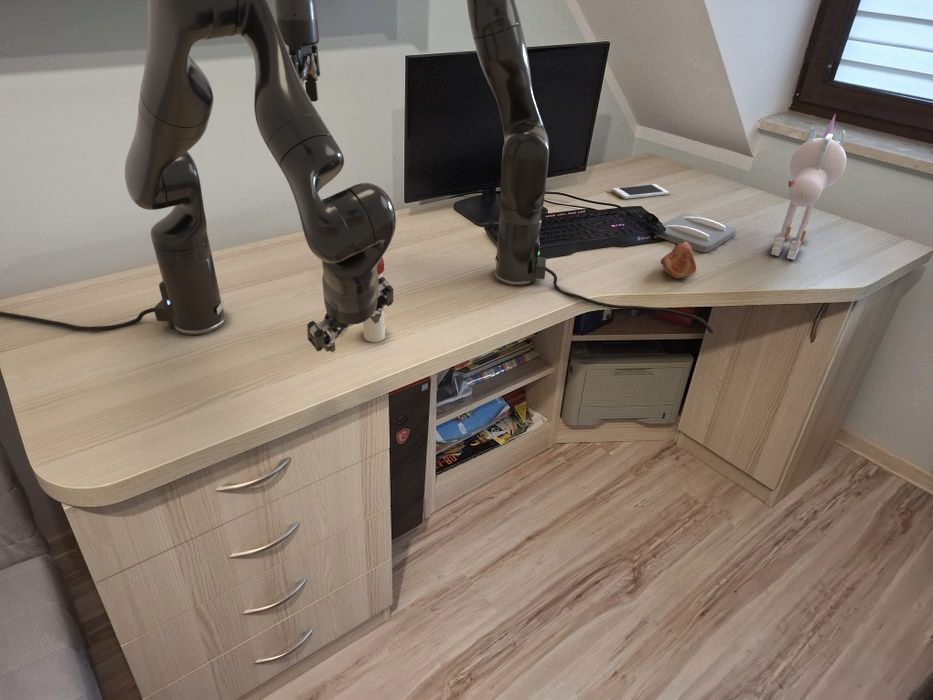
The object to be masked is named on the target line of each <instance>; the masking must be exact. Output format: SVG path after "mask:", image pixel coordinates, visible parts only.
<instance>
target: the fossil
mask: <svg viewBox="0 0 933 700" xmlns="http://www.w3.org/2000/svg"><path fill="white" fill-rule="evenodd" d="M660 264H661V265H662V267H663V269H664V270H665V272H667V274H669V275H671V277H673V278H675V279H684V278H687V277H689V276H690V275H693V274H695V272H697V264H696V260H695V257H694V252H693V249H692V248H691V246H690V245H689V243H688V242H687V241H685V242H684V243H681V244H676V245H675V246H674V247H673V248H672V250H671V251H670V252H668V253H667V254H666V255H664V256H663V257H662V258H661V259H660Z"/></svg>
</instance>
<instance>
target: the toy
mask: <svg viewBox="0 0 933 700" xmlns="http://www.w3.org/2000/svg"><path fill="white" fill-rule="evenodd" d="M836 116H837V115H836V112H835V113H834V115H833V116H832V119H831V120H830V122H829V124H828V126H827V128H826V130H825V131H824V133H823V134H822V136H821V137H817V138H816V136H817V128H815V127H810V129H809V130H808V133H807V135H806V136H805V142H804V143H802V144H801V145H800V146H798V148H797V149H796V150H795V151H794V152H793V154H792V156H791V159H790V162H789V173H790V175H791V178H792V180H789V181H788V188H789V189H788V198H789V201H790V202H789V205H788V209H787V212H786V215H785V218H784V221H783V223H782V227H781V230H780V233H779V235H777V236H776V239H775V241H774V243H773V246H772V249H771V253H770V255H772V256H776V257H779V255H780V253H781V252H782V249H783V248H784V246H785V242H786V240H789V238H790V234H791V232H792V227H793V225H792V223H793V219H794V217H795V213H796V211H797V208H798V207H801V208H802V207H804V208H805V210H804V213H803V216H802V219H801V222H800V225H799V227H798V230H797V233H796V237H795V239H793V240H792V242H791V245H790V247H789V250H788V253H787V256H786V259H788V260H792V261H794V260H795V259H796V257H797V255H798V253H799V251H800V249H801V245H802V244H803V243H804V240H805V238H806V235H807V231H808V228H807V227H808V224H809V221H810V218H811V215H812V212H813V209H814V207H815V204H816V202H817V201H818V200H819V199H820V197H821V195H822V193H823V191H824V189H827V188H828V187H831V186H832V185H834V184H835V183H836V182H837V181H838V180H840V178H841V177H842V176H843V174H844V173H845V170H846V168H847V167H846V166H847V154H846V152H845V150H844V148H843V145H844V143H845V141H846V140H847V134H846V131H845V130H840V131H839V132H838V133H837V135H836V137H835V139H833V129H834V125H835V120H836ZM841 135H842V138H841V141H840V137H841Z"/></svg>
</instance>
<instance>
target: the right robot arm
mask: <svg viewBox="0 0 933 700" xmlns="http://www.w3.org/2000/svg"><path fill="white" fill-rule="evenodd" d="M466 5H467V13H468V19H469V20H468V21H469V25H470V30H471V35H472V39H473V44H474V46H475V50H476V55H477V57H478V61H479V65H480V67H481V69H482V72H483V74H484V76H485V78H486V81H487V84H488V85H489V87H490V89H491V91H492V93H493V96H494V97H495V100H496V104H497V106H498V111H499V115H500V119H501V124H502V125H501V126H502V131H503V132H502V133H503V139H504V140H503V141H504V142H503V147H502V153H501V169H500V187H499V192H500V194H499V195H500V196H499V197H500V198H499V211H498V228H497V244H496V255H495V258H494V262H495V270H494V277H495V278H496V280H498V281H499V282H502V283H503V284H508V285H510V286H525V285H530V284H537V280H545V279H546V278H545V277H546V272H547V273H549V275H551V276H552V277H553V282H552V284H553V287H554V288H555V290H556V291H557V292H559V293H560V294H563V295H565V296H567V297H570V298H574V299H575V298H576V299H578V300H581V301H584V302H587V303H590V304H593V305H596V306H600V307H604V308H611V309H618V310H641V311H651V312H662V313H670V314H673V315H678V316H681V317H685V318H689V319H692V320H694V321H697V322H699V323H700V324H702V326H703V327H705V328H706V330H707V331H708V332H709V333H710V334H714V331H713V329H712V327H711V325H709V323H707V322H706V321H705V319H703V318H702V317H699V316H696V315H694V314H691V313H686V312H682V311H680V310H675V309H671V308H665V307H656V306H655V307H654V306H643V305H624V304H623V305H621V304H611V303H606V302H601V301H598V300H594V299H591V298H587V297H585V296H582V295H580V294H576V293H571V292H568V291H565V290H563V289H561V288H560V287H559V285H558V284H557V283H558V276H557V274H556V273H555V271H553V270H551V269H550V268H548V267H547V257H544V256H540V246H541V244H540V243H541V231H542V222H543V221H542V220H543V213H544V212H543V211H544V201H545V194H546V189H547V188H546V187H547V180H548V179H547V178H548V168H549V160H550V159H549V158H550V141H549V137H548V134H547V131H546V129H545V126H544V123H543V121H542V118H541V115H540V112H539V108H538V107H537V106H538V105H537V103H536V100H535V96H534V91H533V86H532V85H533V84H532V77H531V68H530V61H529V55H528V49H527V45H526V44H527V43H526V39H525V34H524V31H523V30H524V29H523V25H522V22H521V18H520V14H519V11H518V7H517V4H516V0H466ZM274 10H275V17H276V19H275V20H276V23H277V26H278V28H279V30H280V33H281V35H282V37H283V40H284V42H285V45H286V47H288V52H289V55H290V57H291V60H292V62H293V65H294V67H295V69H296V72H297V74H298V76H299V79H300V81H301V83H302V85H303V86H305V87H304V89H305V91H306V93H307V95H308V96H309V98H310V100H311V102H312V103H313V102H314V103H315V102H317V101H318V100H319V95H318V94H319V93H318V85H317V84H318V83H317V82H318V80H319V77H320V76H321V71H320V68H321V67H320V60H319V59H320V58H319V50H318V48H319V47H318V45H317V44H319V42H320V34H319V33H320V32H319V24H318V23H319V22H318V11H317V1H316V0H274ZM304 84H305V85H304Z"/></svg>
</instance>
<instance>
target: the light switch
mask: <svg viewBox="0 0 933 700" xmlns="http://www.w3.org/2000/svg"><path fill="white" fill-rule="evenodd" d="M661 224H662V225H663V226H664V227H665V228H666V231H665V234H667V235H668V237H665V236H662V235H658V236H657V235H654V236H655V237H657V238H659V239H663V240H665V241H669V242H671V243H674V244H676V245H678V244H681V243H684V242H685V241H687V242H688V243H689V245H690V246H691V248H692V250H694V251H697V252H699V253H709V252H711V251H712V250H714V249H716V248H717V247H719V246H720V245H722V244H724V243H725V242H727V241H730V239H732V238H734V237H736V234H737V228H736V227H734V226H732V225H729V224H725V223H722V222H719V221H716V220H713V219H710V218H707V217H703V216H700V215H697V214H694V213H690V212H683V213H682V214H679V215H677V216H675V217H673V218H671V219H669V220H668V221H666V222H663V223H661Z"/></svg>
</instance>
